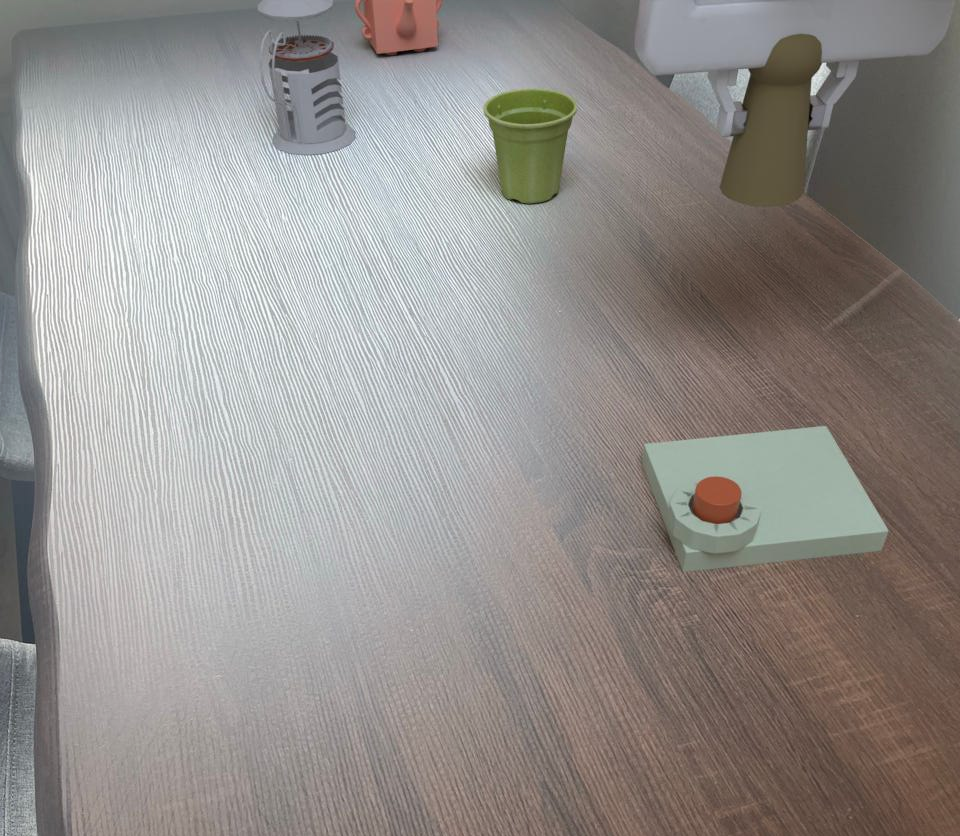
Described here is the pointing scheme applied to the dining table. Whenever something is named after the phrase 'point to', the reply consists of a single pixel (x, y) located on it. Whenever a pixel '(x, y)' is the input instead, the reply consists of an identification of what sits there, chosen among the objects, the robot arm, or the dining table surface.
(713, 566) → the red button base
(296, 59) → the french press
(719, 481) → the red push button
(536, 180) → the plant pot
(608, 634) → the dining table surface
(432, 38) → the teapot
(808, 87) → the cork
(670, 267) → the dining table surface
